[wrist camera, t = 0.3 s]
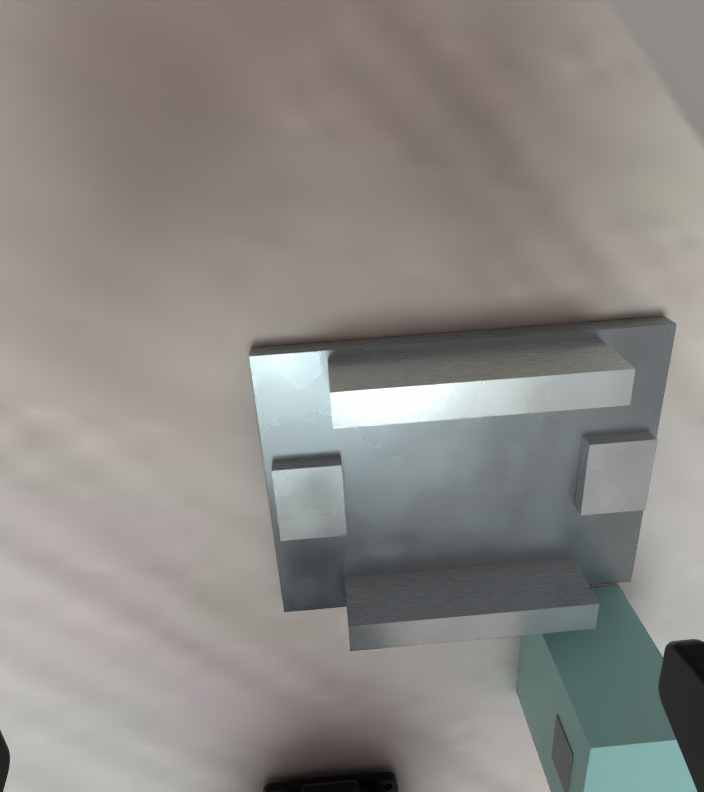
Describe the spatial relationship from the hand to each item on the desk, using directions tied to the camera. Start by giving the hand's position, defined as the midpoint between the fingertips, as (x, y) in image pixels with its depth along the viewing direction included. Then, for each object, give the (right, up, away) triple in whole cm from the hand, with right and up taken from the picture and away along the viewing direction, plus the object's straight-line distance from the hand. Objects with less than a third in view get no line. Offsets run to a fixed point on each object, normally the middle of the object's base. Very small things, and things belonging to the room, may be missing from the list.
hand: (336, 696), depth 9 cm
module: (+10, -7, +20) cm, 23 cm away
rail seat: (+4, +1, +15) cm, 16 cm away
